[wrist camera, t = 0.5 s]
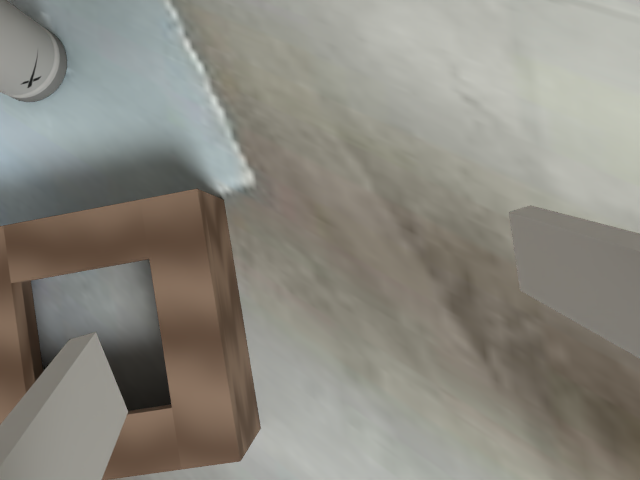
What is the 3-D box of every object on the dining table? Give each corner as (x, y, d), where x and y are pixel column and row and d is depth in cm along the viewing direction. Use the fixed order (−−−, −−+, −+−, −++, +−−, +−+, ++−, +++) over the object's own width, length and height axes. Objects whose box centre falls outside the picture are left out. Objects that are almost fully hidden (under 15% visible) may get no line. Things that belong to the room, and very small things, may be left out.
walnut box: (13, 239, 39) (-50, 235, 33) (223, 199, 38) (197, 188, 32) (43, 459, 38) (-16, 496, 32) (260, 428, 37) (240, 461, 31)
